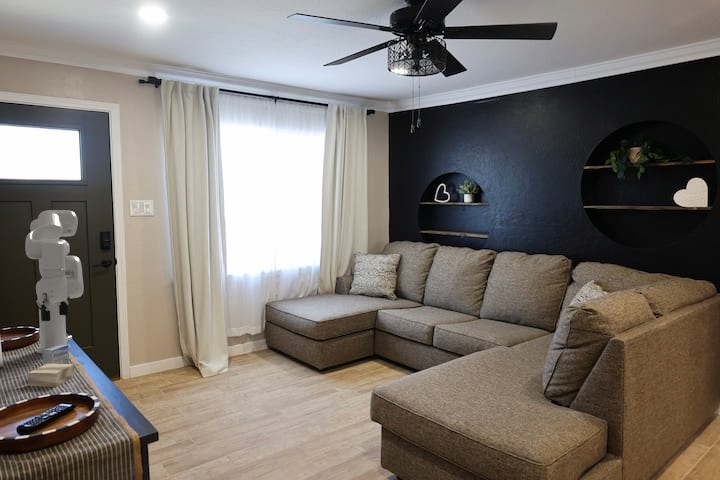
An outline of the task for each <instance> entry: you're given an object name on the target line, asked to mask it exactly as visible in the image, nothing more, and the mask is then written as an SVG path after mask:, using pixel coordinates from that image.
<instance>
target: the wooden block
mask: <svg viewBox="0 0 720 480" xmlns="http://www.w3.org/2000/svg"><path fill="white" fill-rule="evenodd" d="M74 377H75V364H74V363H69V364H50V363H47V364H45V365H43V364H42V365H41V366H39V367H37V368H34V369H33V370H30V371H29V372H27V385H28V387H53V388H54V387H55V388H57V387H59V386H60V385H62V384H63V383H66V382H68V381H69V380H71V379H73V378H74Z"/></svg>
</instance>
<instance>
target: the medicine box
mask: <svg viewBox="0 0 720 480" xmlns="http://www.w3.org/2000/svg"><path fill="white" fill-rule="evenodd" d="M69 351H70V349H69V346H68V345H57V346H54V347H51V348H48V349H45V350H43V354H42V366H43V365H45V364H47V363H50V364H70V352H69Z"/></svg>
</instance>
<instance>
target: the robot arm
mask: <svg viewBox="0 0 720 480" xmlns="http://www.w3.org/2000/svg"><path fill="white" fill-rule="evenodd" d="M78 219H79V218H78V216H77V214H76V213H75V212H74V211H72V210H66V209H61V210H60V209H59V210H58V209H53V210H52V209H50V210H49V209H47V210H44V211H41V212H40V213H39V215H37V219H36V218H35V219H34V220H32V221H31V223H30V227H29V229H30V232H29V233H28V234H27V235H26V236H25V237H26V238H25V254H26V256H27V258H29V259H32V260H38V269H39V273H40V276H41V278H40V280H39V281H37V282H36V284H35V291H36V292H35V293H36V297H37V300H36V304H37V308H38V315H39V316H38V318H39V344H40V345H39V346H38V347H36V349H35V352H36V353H37V354H42V355H43V350H45V349H48V348H51V347H54V346H57V345H68V346H69V350H70V348H71V344H69V343H68V342H69V341H71V340H72V339H73V337H72V335H68V336H67V330H66V329H67V327H66V321H67V320H66V316H68V315H69V305H70V304H69V303H70V300H71V299H77V298H78V299H79V298H80V297H81V296H82V295H83V294H84V291H85V290H84V288H85V287H84V278H83V267H82V262H81V260H80V258H79V256H76V255H68V254H69V253H70V244H69V242H68V241H67V240H65V239H62V238H61V237H64V238H65V237H67V238H68V237H73V236H75V234H76V233H77V229H78V223H79V222H78V221H79V220H78ZM60 238H61V239H60Z"/></svg>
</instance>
